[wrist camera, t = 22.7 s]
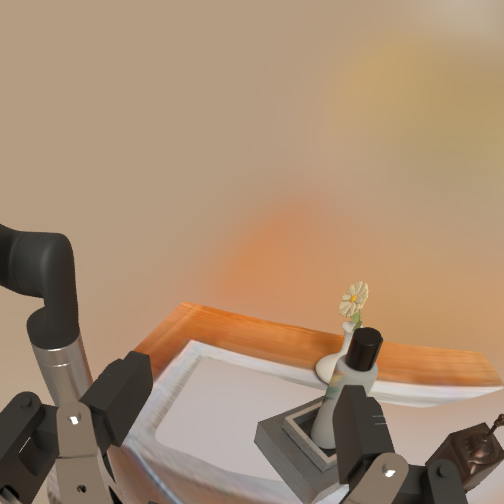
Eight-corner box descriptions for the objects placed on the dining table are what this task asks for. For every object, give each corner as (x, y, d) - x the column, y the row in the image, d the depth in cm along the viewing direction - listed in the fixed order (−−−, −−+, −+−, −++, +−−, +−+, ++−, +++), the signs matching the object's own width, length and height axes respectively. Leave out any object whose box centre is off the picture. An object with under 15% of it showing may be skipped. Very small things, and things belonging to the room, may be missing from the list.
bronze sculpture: (439, 506, 21) (507, 442, 16) (423, 463, 32) (474, 394, 27) (494, 479, 21) (551, 414, 16) (476, 445, 32) (522, 379, 27)
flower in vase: (320, 357, 67) (342, 264, 60) (362, 368, 62) (391, 275, 55) (306, 388, 55) (333, 283, 48) (355, 401, 51) (394, 297, 44)
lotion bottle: (351, 437, 35) (399, 335, 29) (326, 455, 32) (375, 351, 26) (327, 418, 39) (364, 317, 34) (302, 433, 36) (337, 328, 31)
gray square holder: (253, 441, 40) (260, 411, 38) (324, 412, 48) (336, 381, 46) (307, 507, 27) (324, 485, 24) (378, 460, 35) (399, 432, 32)
